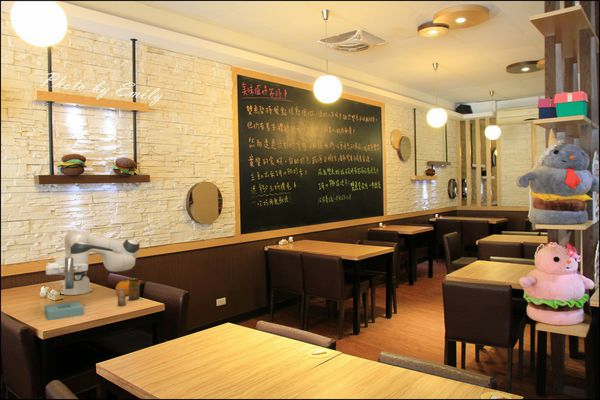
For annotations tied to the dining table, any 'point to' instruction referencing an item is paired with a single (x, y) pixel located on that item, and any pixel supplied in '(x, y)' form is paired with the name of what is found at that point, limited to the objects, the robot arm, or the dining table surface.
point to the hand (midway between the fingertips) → (69, 270)
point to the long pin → (69, 273)
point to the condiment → (133, 289)
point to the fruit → (123, 286)
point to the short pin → (121, 297)
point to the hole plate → (63, 310)
